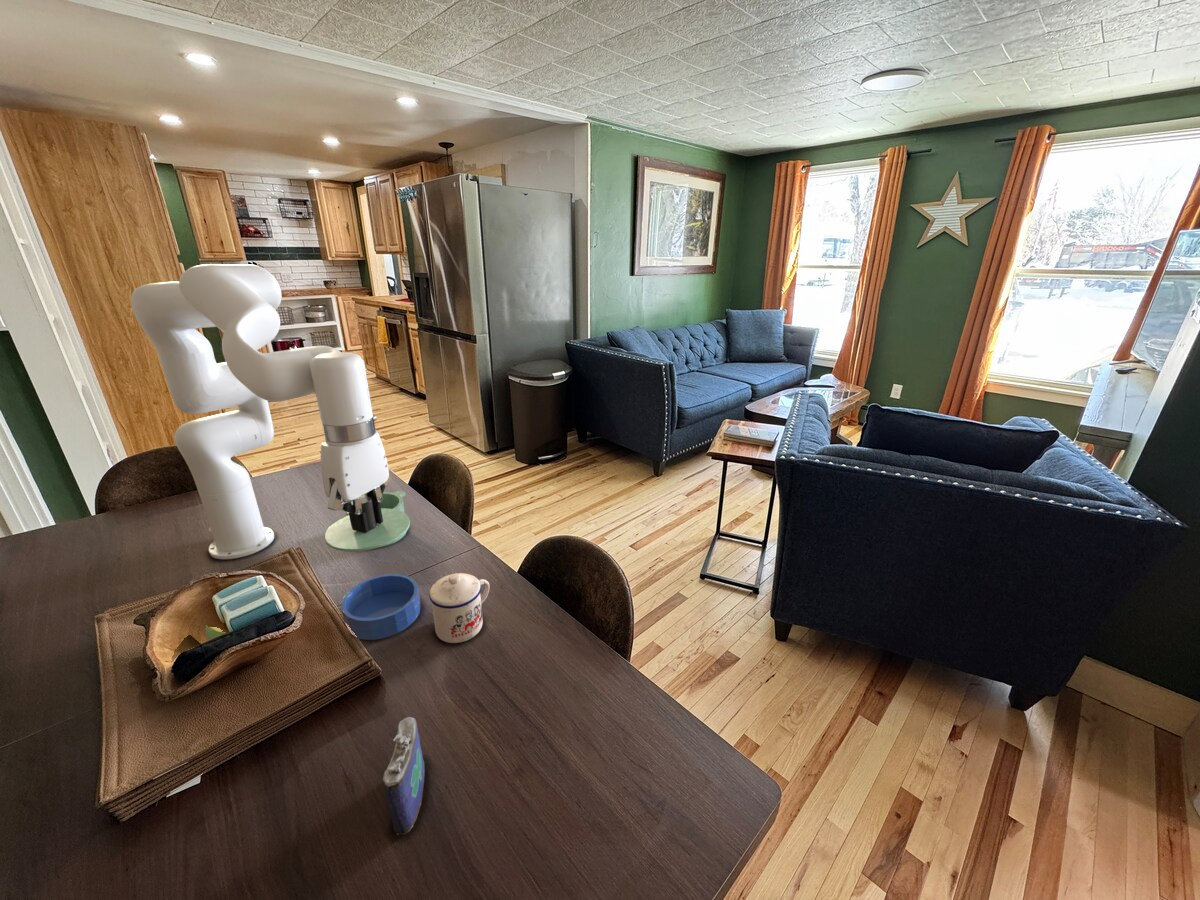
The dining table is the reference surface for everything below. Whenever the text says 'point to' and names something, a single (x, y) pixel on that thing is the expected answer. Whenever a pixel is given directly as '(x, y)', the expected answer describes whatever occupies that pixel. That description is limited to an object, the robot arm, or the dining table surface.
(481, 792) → the dining table surface
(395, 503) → the pot
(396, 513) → the lid
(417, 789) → the flask
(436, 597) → the teacup with lid
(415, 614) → the bowl
